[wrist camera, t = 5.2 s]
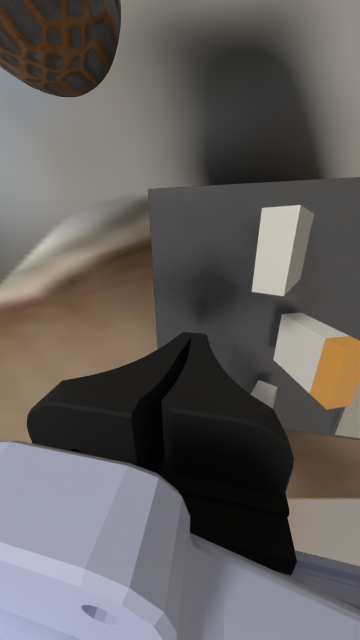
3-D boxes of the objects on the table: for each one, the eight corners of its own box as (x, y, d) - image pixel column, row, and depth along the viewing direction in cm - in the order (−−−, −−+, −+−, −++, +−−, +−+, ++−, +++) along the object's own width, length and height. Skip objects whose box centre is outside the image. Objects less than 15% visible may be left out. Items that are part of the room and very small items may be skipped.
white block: (300, 278, 11) (283, 296, 8) (275, 276, 11) (251, 291, 8) (313, 213, 10) (300, 204, 7) (285, 215, 10) (261, 207, 7)
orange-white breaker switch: (290, 357, 13) (350, 405, 9) (273, 359, 13) (326, 409, 9) (301, 312, 12) (373, 347, 8) (281, 313, 12) (346, 350, 8)
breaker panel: (364, 420, 16) (384, 447, 14) (167, 394, 19) (160, 413, 17) (470, 179, 10) (534, 166, 8) (158, 195, 13) (146, 187, 11)
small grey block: (270, 421, 14) (251, 470, 12) (253, 413, 15) (231, 457, 12) (277, 386, 13) (258, 431, 10) (258, 379, 14) (235, 419, 11)
